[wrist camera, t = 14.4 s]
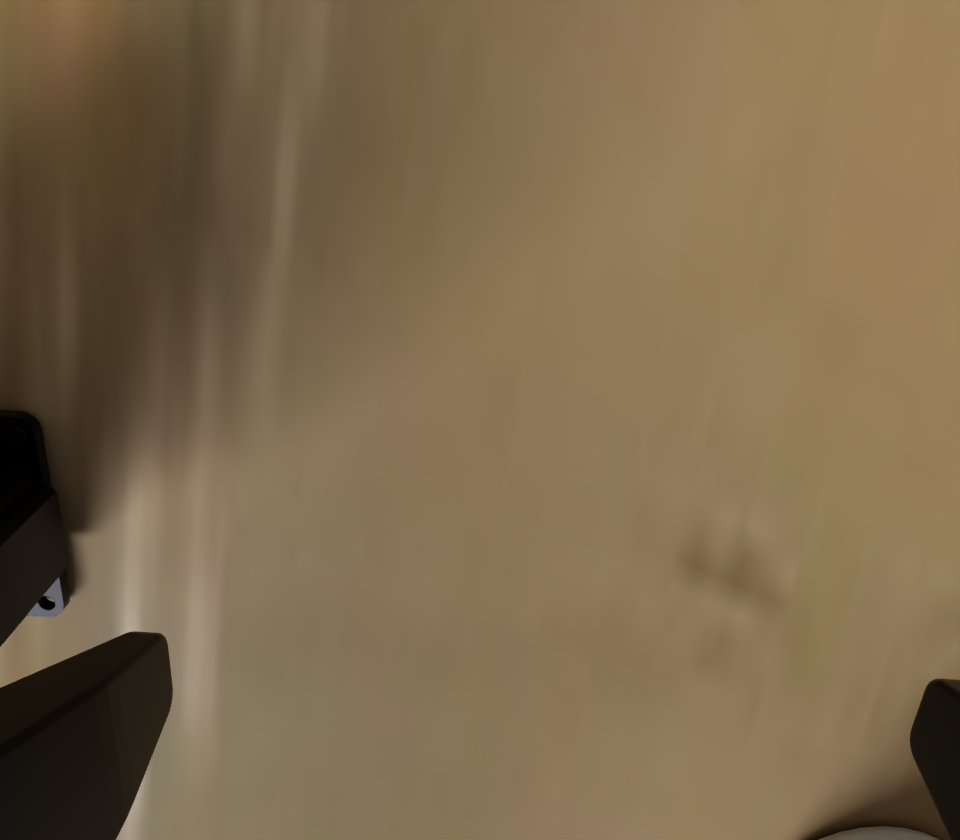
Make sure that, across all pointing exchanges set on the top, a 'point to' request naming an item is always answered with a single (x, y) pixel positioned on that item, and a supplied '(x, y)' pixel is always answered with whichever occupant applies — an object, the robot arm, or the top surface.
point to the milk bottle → (880, 834)
